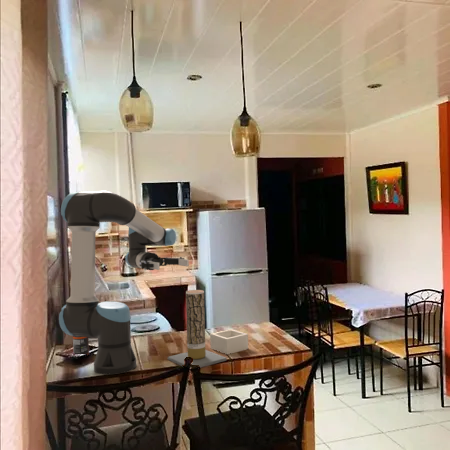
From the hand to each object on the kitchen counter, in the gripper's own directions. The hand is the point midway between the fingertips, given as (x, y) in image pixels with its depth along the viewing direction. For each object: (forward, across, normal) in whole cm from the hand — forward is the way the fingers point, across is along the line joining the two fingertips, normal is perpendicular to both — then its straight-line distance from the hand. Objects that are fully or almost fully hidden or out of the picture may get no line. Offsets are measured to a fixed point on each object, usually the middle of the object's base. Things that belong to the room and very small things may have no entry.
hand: (173, 264), depth 188 cm
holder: (+12, -18, -35) cm, 41 cm away
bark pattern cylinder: (+15, 0, -34) cm, 37 cm away
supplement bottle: (-21, +31, -35) cm, 52 cm away
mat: (+15, 0, -35) cm, 38 cm away
